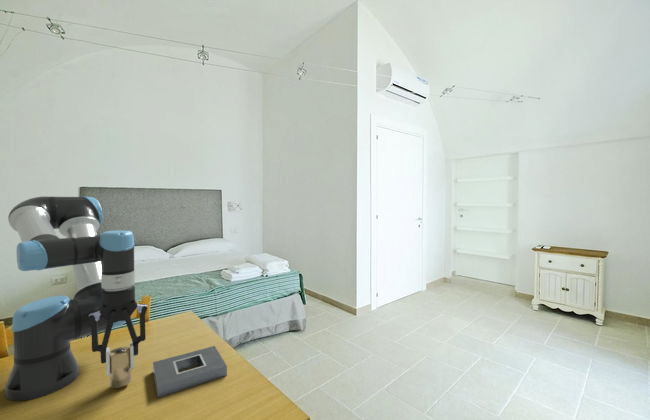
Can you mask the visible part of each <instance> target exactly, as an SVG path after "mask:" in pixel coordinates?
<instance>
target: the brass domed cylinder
mask: <svg viewBox="0 0 650 420" xmlns="http://www.w3.org/2000/svg"><path fill="white" fill-rule="evenodd" d="M131 371H132V369H131V363H130V346H122V347H117V348H115V349H114V348H113V349H112V350H110V375H109V383H110V384H109V386H110V387H111V388H112V389H118V388H122V387H125V386H127V385H128V384H129V383H131V381H132V372H131Z"/></svg>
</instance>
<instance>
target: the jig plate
mask: <svg viewBox="0 0 650 420" xmlns="http://www.w3.org/2000/svg"><path fill="white" fill-rule="evenodd" d="M196 366H198V367H196ZM193 367H194V368H193ZM227 367H228V365H227V363H226V362H225V360H224V358H223V357H222V356H221V354H220V352H219V350H218V349H217V348H216V346H215V345H214V346H209V347H205V348H202V349H198V350H193V351H190V352H187V353H183V354H179V355H176V356H171V357H168V358H164V359H159V360H156V361H153V362H152V372H153V373H152V374H153V379H154V385H155V390H156V394H157V399H159V398H162V397H165V396H168V395H171V394H173V393H176V392H180V391H183V390H186V389H189V388H193V387H196V386H198V385H202V384H205V383H207V382H211V381H215V380H217V379H221V378H224V377H226V376H227V375H228V368H227ZM190 368H191V369H190ZM186 369H187V370H186ZM182 370H183V371H182ZM179 371H181V372H179Z"/></svg>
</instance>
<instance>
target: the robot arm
mask: <svg viewBox="0 0 650 420" xmlns="http://www.w3.org/2000/svg"><path fill="white" fill-rule="evenodd" d="M103 222H104V214H103V208H102V205H101V204H100V201H99V200H98V199H97V198H95V197H93V196H83V195H80V196H37V197H31V198H29V199H26V200H23V201H21V202H19V203H18V204H16V205H15V206H14V207H12V209H11V210H10V212H9V213H8V223H9V225H10V227H11V228H12V230H14V231H15V232H17V233H18V236H19V238H20V241H21V242H19V243H18V244H17V245H16V263H17V268H18V270H20V271H21V272H29V271H42V270H47V269H48V270H49V269H56V268H61V267H62V268H63V267H68V266H72V268H73V272H74V276H75V277H74V278H75V281H76V285H77V291H76V292H75V293H74V294H73V299H70V298H69V297H68V296H67V295H57V296H49V297H45V298H42V299H40V298H39V299H37V300H34V301H31V302H29V303H27V304H25V305H22V306H21V307H20V308H18V309H17V310H16V311H15V312H14V313H13V315H12V326H11V332H12V339H13V340H12V342H13V366H12V367H11V371H10V374H9V376H8V379H7V382H6V384H5V397H6V399H7V400H11V401H27V400H28V401H29V400H33V399H37V398H42V397H44V396H47V395H51V394H53V393H55V392H58V391H59V390H62V389H63V388H65V387H67V386H68V385H70V384H72V383H73V382H74V381H75V380H76V379H77V378H78V376H79V375H80V368H79V367H80V365H79V363H78V362H77V360H76V358H75V356H74V353H73V352H72V350H71V341H72V340H76V339H80V338H83V337H87V336H91V351H92V353H95V352H99V353H100V363H101V364H106V366H105V369H106V371H105V372H106V376H107V377H108V376H110V352H111V350H110V349H111V348H110V347H108V344H109V340H110V337H111V333H112V329H115V328H117V327H120V326H123V325H124V324H126V326H127V329H128V333H129V335H130V338H131V342H130V343H129V348H130V363H131V370H134V369H135V362H134V360H135V359H134V356H138V355H139V343H141V342H144V341H145V340H146V339H147V338H146V314H147V311H148V304H146V303H144V304H139V303H137V301H136V287H135V286H134V285H136V284H135V283H136V282H135V280H136V279H135V277H136V275H135V273H136V272H135V271H136V270H135V237H134V233H133V232H132V231H131V230H124V229H123V230H121V229H120V230H119V229H118V230H116V229H115V230H108V231H104V232H102V233H100V234H98V233H97V231H98V230H99V228H100V226H101V225H102V224H103ZM56 230H58V232H59V233H60V234H61V235H62V236H63V237H62V238H60V236H59V235H58V233H57V231H56ZM136 309H137V313H138V314H139V335H137V332H136V329H135V327H134V324H133V320H132V315H133V313H134V312H135V311H136ZM101 332H104V334H103V337H102V342H101V344H99V333H101Z"/></svg>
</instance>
